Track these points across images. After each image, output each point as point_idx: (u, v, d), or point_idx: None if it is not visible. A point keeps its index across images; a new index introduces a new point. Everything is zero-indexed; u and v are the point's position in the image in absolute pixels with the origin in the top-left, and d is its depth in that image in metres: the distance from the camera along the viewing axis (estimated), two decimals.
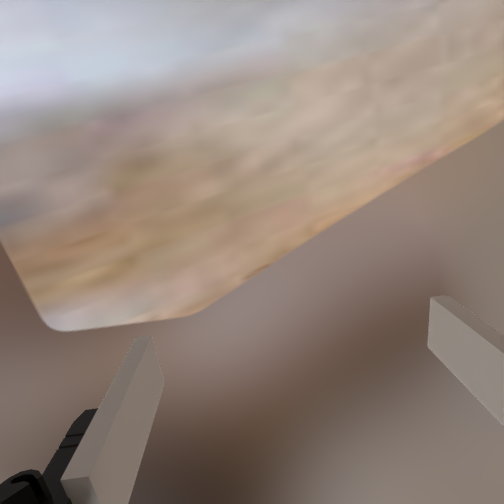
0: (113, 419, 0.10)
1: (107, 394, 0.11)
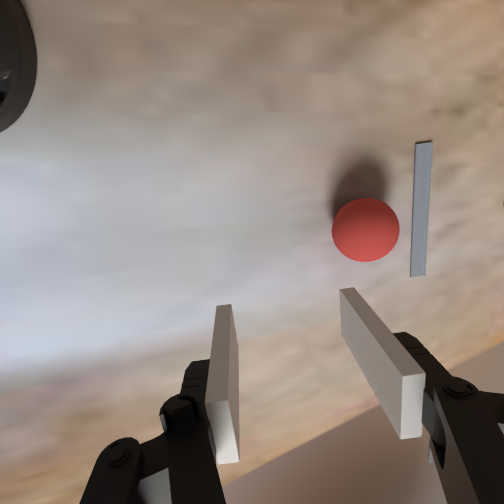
0: (228, 363, 0.12)
1: (213, 346, 0.13)
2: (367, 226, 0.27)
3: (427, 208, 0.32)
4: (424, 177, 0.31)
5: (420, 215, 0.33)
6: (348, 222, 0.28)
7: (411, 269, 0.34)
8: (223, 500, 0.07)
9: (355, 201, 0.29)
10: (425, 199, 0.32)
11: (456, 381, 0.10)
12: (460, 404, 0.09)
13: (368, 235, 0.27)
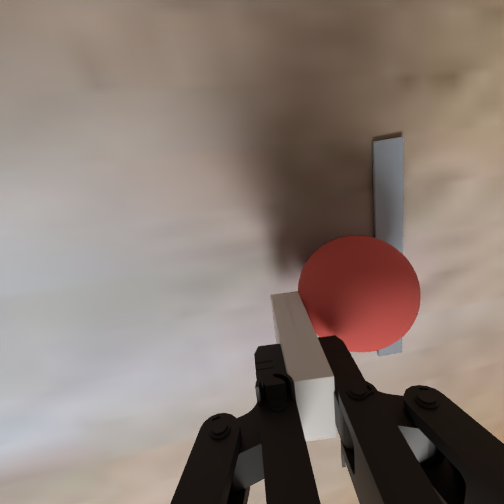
0: (301, 346, 0.12)
1: (281, 331, 0.13)
2: (414, 284, 0.14)
3: (400, 250, 0.19)
4: (391, 199, 0.18)
5: None
6: (389, 291, 0.14)
7: None
8: (313, 481, 0.08)
9: (354, 248, 0.15)
10: (395, 235, 0.19)
11: (357, 384, 0.10)
12: (362, 407, 0.09)
13: (418, 299, 0.15)
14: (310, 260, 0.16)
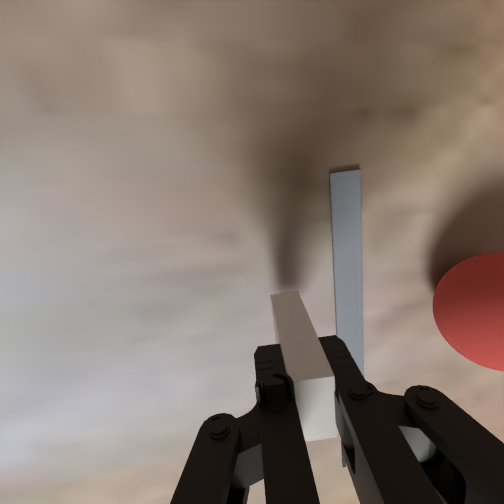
0: (301, 346, 0.12)
1: (280, 331, 0.13)
2: (440, 281, 0.17)
3: (359, 282, 0.18)
4: (350, 231, 0.17)
5: (348, 294, 0.19)
6: None
7: None
8: (313, 481, 0.08)
9: (503, 253, 0.16)
10: (354, 268, 0.18)
11: (357, 383, 0.10)
12: (363, 406, 0.09)
13: (434, 293, 0.18)
14: None
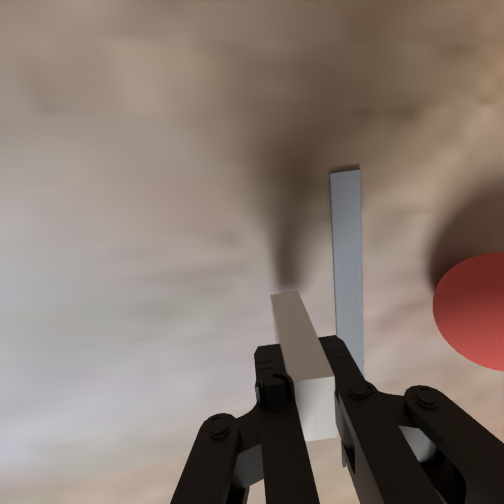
0: (301, 346, 0.12)
1: (280, 331, 0.13)
2: (440, 281, 0.17)
3: (359, 282, 0.18)
4: (350, 231, 0.17)
5: (348, 294, 0.19)
6: None
7: None
8: (313, 481, 0.08)
9: (503, 253, 0.16)
10: (354, 268, 0.18)
11: (357, 383, 0.10)
12: (363, 406, 0.09)
13: (434, 293, 0.18)
14: None
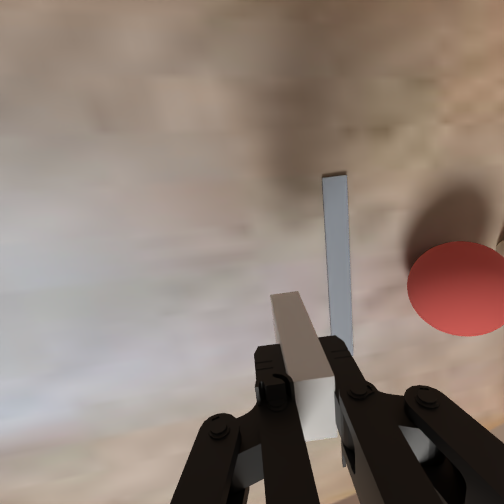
0: (301, 346, 0.12)
1: (280, 331, 0.13)
2: (413, 265, 0.21)
3: (347, 267, 0.23)
4: (339, 224, 0.22)
5: (338, 276, 0.23)
6: None
7: None
8: (313, 481, 0.08)
9: (461, 241, 0.20)
10: (343, 255, 0.22)
11: (357, 383, 0.10)
12: (362, 407, 0.09)
13: None
14: None
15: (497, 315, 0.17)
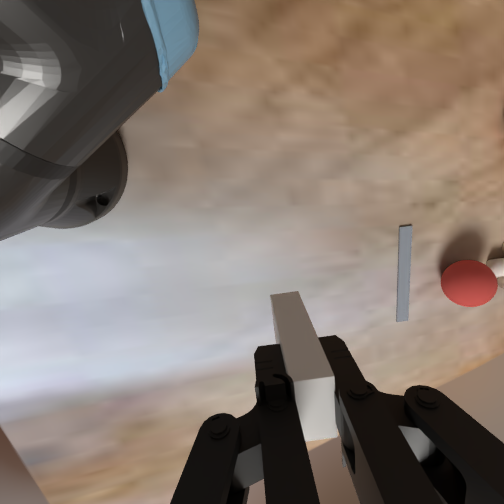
0: (301, 346, 0.12)
1: (280, 331, 0.13)
2: (444, 271, 0.41)
3: (409, 272, 0.43)
4: (406, 250, 0.42)
5: (403, 277, 0.43)
6: None
7: (397, 316, 0.45)
8: (313, 481, 0.08)
9: (469, 260, 0.40)
10: (407, 265, 0.42)
11: (357, 383, 0.10)
12: (363, 407, 0.09)
13: None
14: (488, 267, 0.40)
15: (486, 295, 0.38)
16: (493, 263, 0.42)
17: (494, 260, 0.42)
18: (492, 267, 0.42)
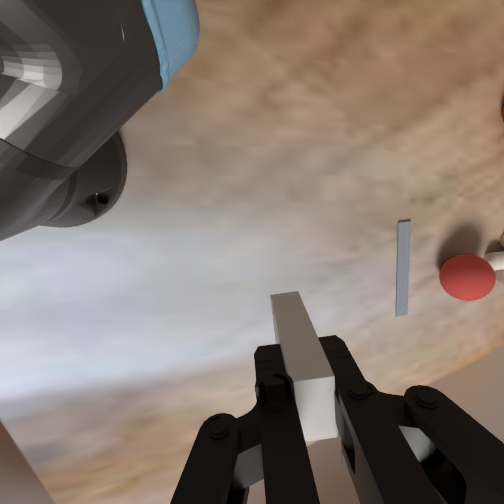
0: (301, 346, 0.12)
1: (280, 331, 0.13)
2: (442, 266, 0.42)
3: (407, 267, 0.43)
4: (405, 245, 0.42)
5: (402, 272, 0.43)
6: None
7: (396, 310, 0.45)
8: (312, 481, 0.08)
9: (467, 254, 0.40)
10: (406, 260, 0.43)
11: (357, 383, 0.10)
12: (363, 406, 0.09)
13: (440, 271, 0.42)
14: (486, 261, 0.40)
15: (484, 289, 0.38)
16: (491, 256, 0.42)
17: (491, 253, 0.42)
18: (490, 260, 0.42)
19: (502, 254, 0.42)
